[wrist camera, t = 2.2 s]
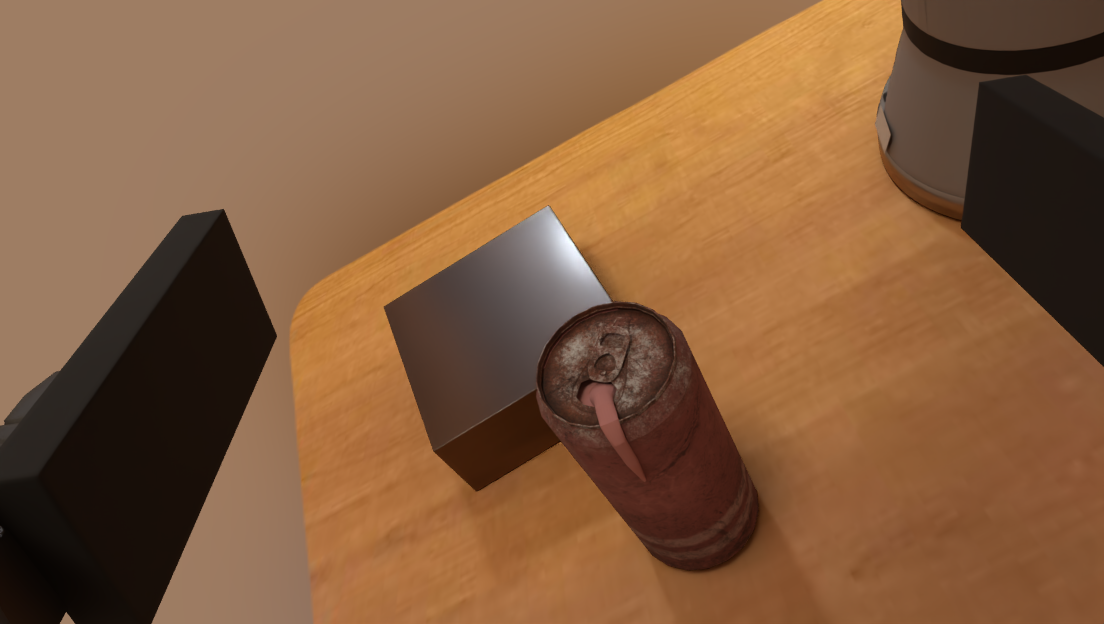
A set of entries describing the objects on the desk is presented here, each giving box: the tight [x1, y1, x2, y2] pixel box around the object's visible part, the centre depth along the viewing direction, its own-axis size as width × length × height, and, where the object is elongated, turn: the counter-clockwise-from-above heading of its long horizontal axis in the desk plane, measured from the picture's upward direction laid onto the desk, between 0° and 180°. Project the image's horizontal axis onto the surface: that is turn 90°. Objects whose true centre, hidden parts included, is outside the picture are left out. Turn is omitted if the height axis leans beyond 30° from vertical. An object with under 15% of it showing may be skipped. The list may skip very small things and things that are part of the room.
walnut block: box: [384, 205, 613, 491], centre depth 48 cm, size 12×12×5 cm
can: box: [536, 301, 759, 570], centre depth 35 cm, size 6×6×14 cm
